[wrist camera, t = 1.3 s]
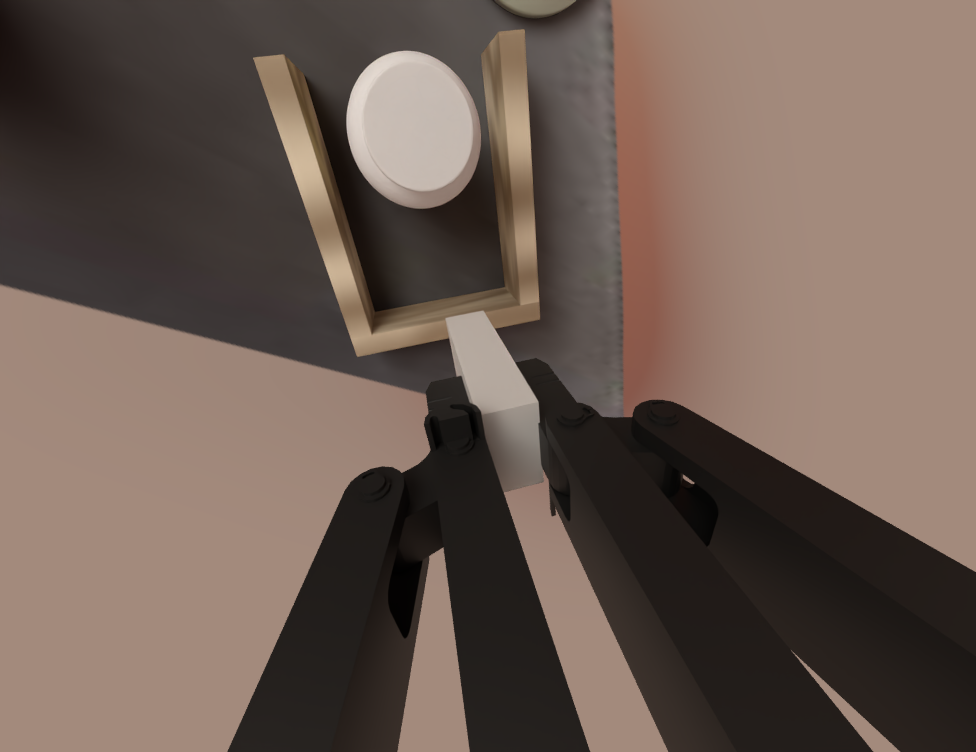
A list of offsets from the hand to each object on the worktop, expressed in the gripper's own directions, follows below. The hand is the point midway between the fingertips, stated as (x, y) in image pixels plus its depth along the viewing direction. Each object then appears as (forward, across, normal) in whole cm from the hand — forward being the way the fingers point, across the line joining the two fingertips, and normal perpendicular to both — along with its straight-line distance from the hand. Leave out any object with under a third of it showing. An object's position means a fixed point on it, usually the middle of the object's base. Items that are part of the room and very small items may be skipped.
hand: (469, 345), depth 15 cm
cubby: (+18, 0, +3) cm, 19 cm away
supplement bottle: (+18, 0, +8) cm, 20 cm away
